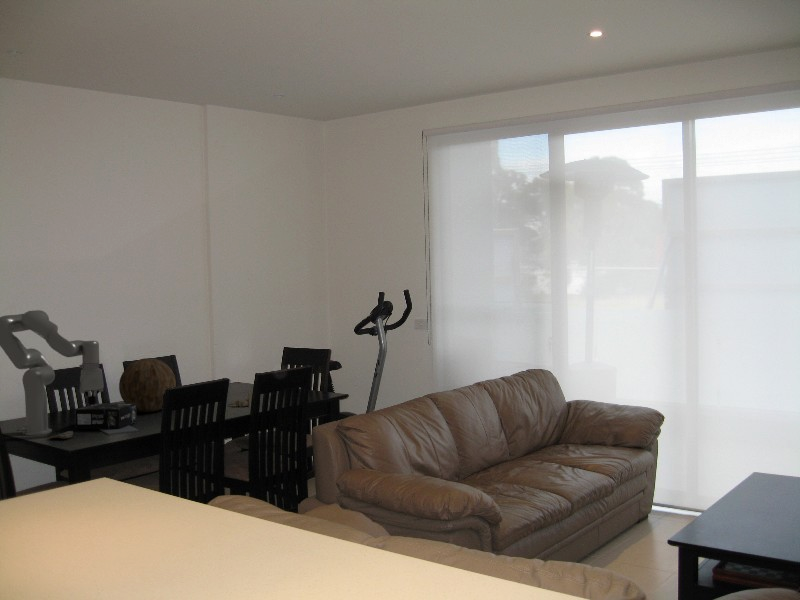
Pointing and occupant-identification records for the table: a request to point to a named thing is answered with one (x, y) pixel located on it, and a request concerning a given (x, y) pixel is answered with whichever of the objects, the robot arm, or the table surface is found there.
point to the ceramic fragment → (63, 435)
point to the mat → (119, 430)
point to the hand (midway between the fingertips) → (91, 404)
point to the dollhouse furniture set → (239, 403)
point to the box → (105, 416)
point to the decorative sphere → (146, 384)
